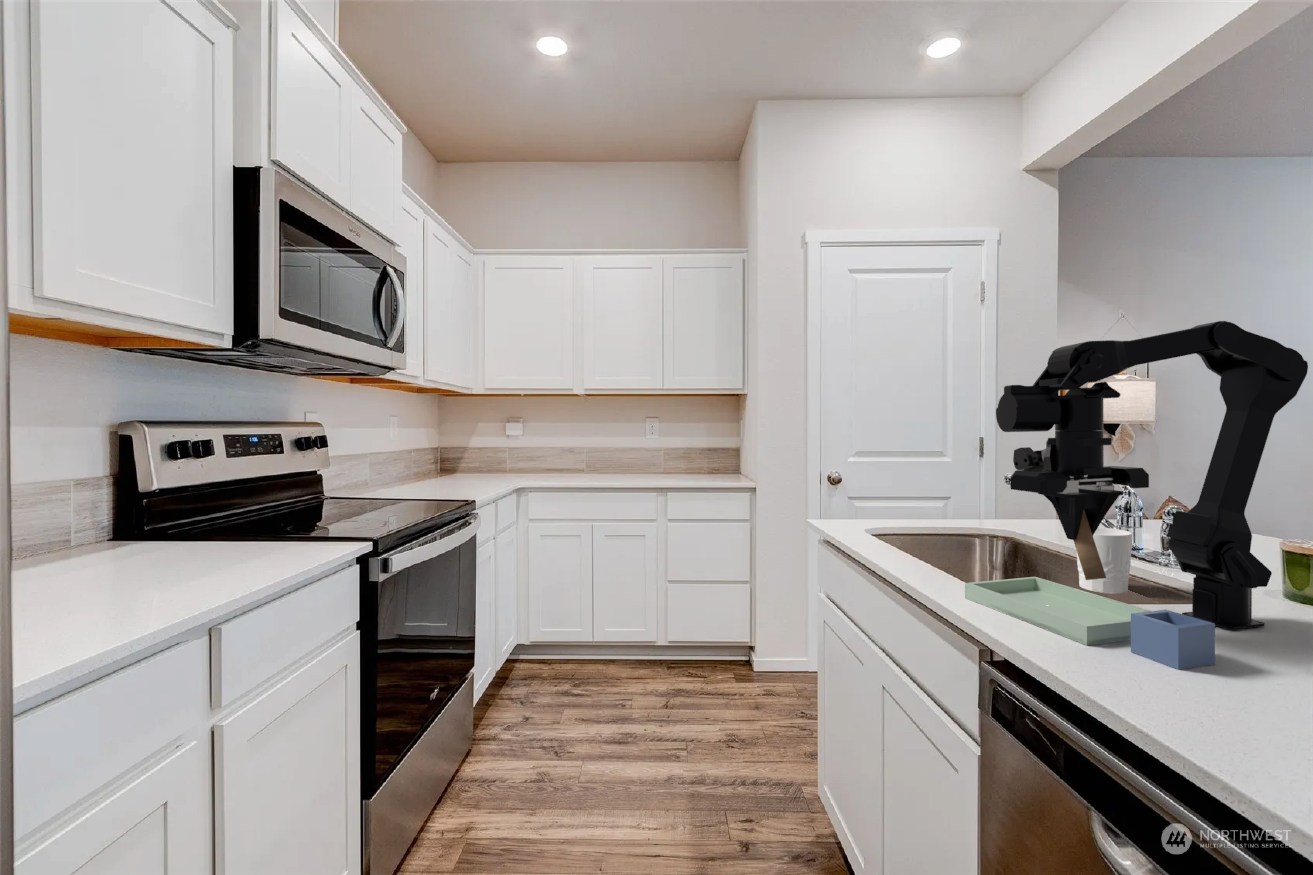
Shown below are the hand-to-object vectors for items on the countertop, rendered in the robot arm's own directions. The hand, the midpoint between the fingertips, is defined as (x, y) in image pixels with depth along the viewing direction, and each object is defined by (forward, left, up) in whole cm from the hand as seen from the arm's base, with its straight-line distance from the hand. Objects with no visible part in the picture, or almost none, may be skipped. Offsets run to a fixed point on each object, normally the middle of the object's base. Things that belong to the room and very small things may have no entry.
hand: (1079, 538), depth 87 cm
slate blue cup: (+1, +13, -12) cm, 18 cm away
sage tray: (0, -4, -12) cm, 13 cm away
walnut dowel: (0, +1, 0) cm, 1 cm away
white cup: (-19, -13, -12) cm, 26 cm away
